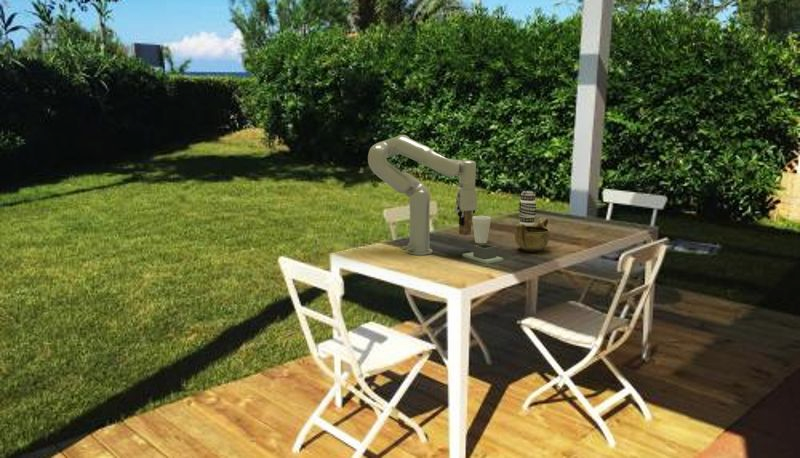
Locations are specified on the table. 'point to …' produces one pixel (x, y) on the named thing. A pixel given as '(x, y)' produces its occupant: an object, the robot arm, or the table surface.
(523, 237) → the brown round bowl
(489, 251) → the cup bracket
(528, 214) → the decorative candle
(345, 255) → the table surface
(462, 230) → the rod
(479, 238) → the foam cup
